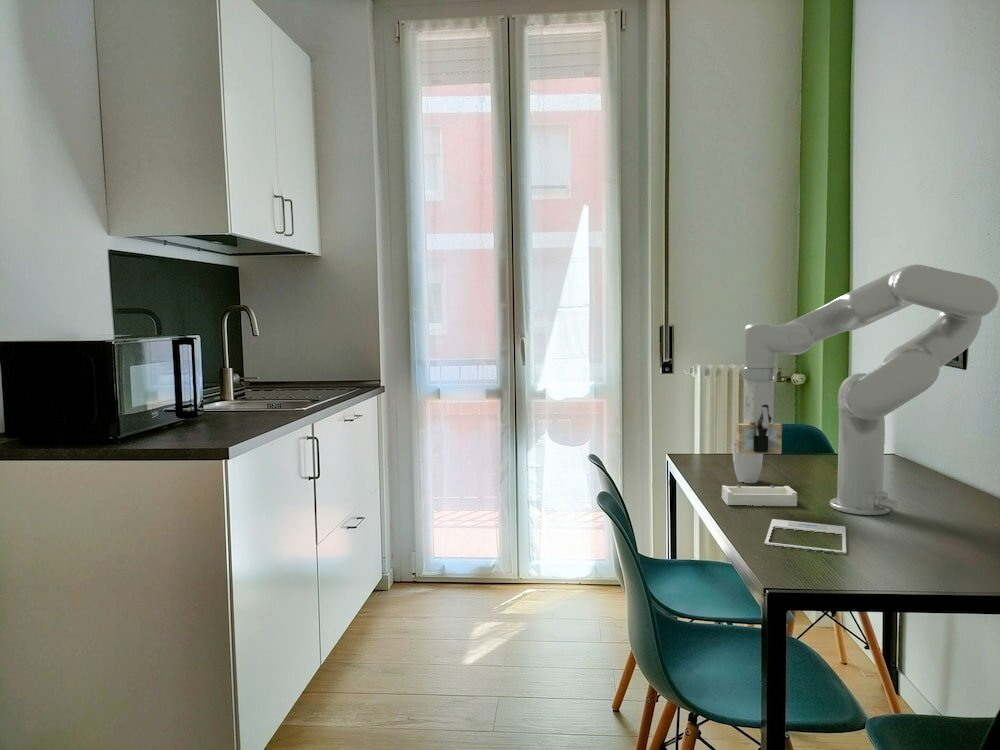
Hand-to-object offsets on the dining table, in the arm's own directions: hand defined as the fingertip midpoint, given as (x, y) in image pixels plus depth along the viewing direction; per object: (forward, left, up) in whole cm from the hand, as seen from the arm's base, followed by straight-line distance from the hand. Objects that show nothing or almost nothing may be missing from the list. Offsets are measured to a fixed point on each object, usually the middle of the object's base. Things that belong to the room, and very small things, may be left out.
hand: (759, 449), depth 172 cm
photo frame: (-24, +13, -14) cm, 30 cm away
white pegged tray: (0, 0, -13) cm, 13 cm away
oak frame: (0, 0, -1) cm, 1 cm away
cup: (+16, -15, -13) cm, 26 cm away
